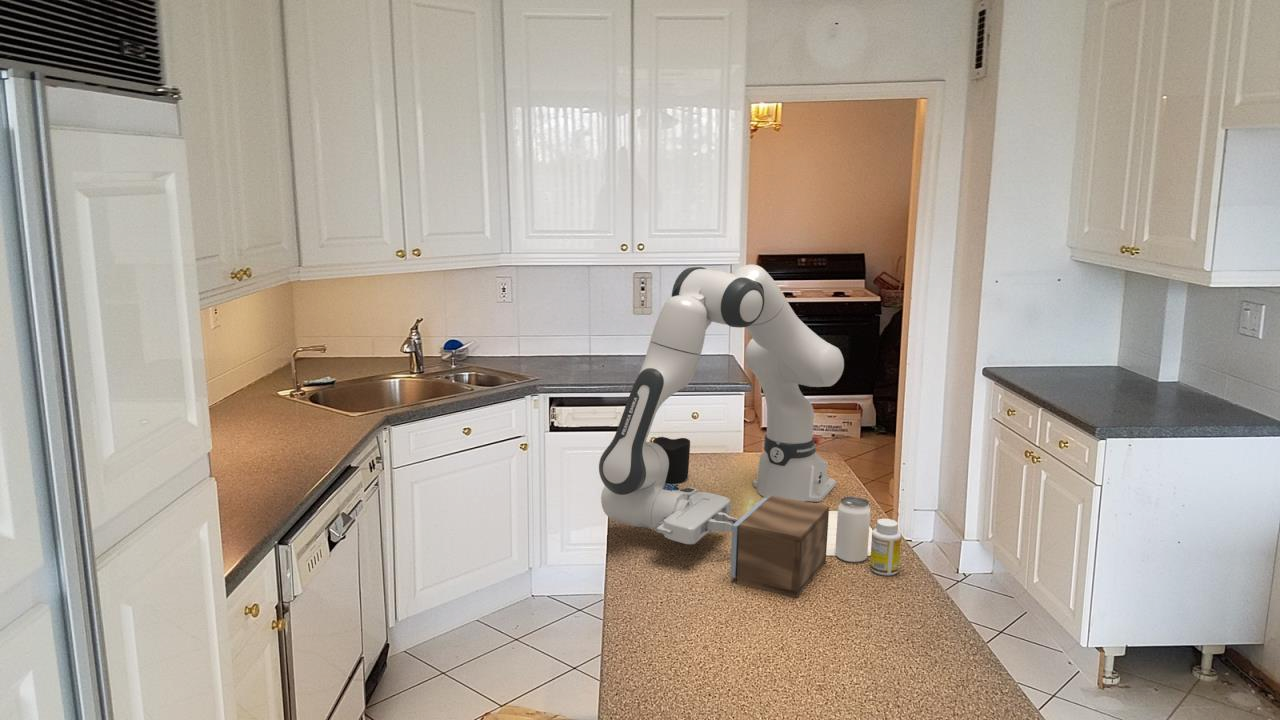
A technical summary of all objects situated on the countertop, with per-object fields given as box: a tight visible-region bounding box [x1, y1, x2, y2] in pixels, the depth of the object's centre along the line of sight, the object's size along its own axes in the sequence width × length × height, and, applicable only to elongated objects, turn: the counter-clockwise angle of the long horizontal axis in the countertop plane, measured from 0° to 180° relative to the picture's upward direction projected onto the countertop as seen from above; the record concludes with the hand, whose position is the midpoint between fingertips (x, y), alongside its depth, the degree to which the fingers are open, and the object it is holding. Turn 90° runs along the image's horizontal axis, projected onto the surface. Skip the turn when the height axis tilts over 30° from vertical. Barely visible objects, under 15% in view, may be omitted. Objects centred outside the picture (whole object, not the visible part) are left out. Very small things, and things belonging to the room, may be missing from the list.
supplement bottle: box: [869, 518, 902, 576], centre depth 179 cm, size 6×6×10 cm
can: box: [834, 496, 871, 564], centre depth 185 cm, size 6×6×12 cm
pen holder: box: [652, 436, 691, 485], centre depth 232 cm, size 9×9×10 cm
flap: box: [729, 496, 769, 579], centre depth 180 cm, size 18×1×10 cm, turn 153°
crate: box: [736, 496, 830, 599], centre depth 177 cm, size 18×12×12 cm, turn 152°
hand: (734, 525), depth 183 cm, fingers closed
